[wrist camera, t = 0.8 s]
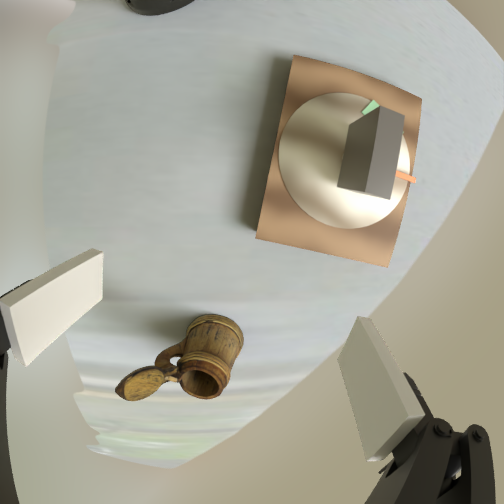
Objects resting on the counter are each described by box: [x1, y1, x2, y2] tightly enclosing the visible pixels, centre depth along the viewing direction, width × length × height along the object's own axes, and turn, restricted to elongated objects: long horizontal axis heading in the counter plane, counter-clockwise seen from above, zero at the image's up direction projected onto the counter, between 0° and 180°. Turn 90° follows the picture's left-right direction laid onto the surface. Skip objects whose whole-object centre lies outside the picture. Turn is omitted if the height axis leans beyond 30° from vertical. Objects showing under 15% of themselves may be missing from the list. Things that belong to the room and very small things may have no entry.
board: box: [256, 55, 422, 268], centre depth 31 cm, size 24×18×4 cm
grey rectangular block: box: [337, 106, 416, 200], centre depth 24 cm, size 8×10×11 cm
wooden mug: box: [115, 315, 244, 401], centre depth 33 cm, size 9×14×18 cm, turn 70°
